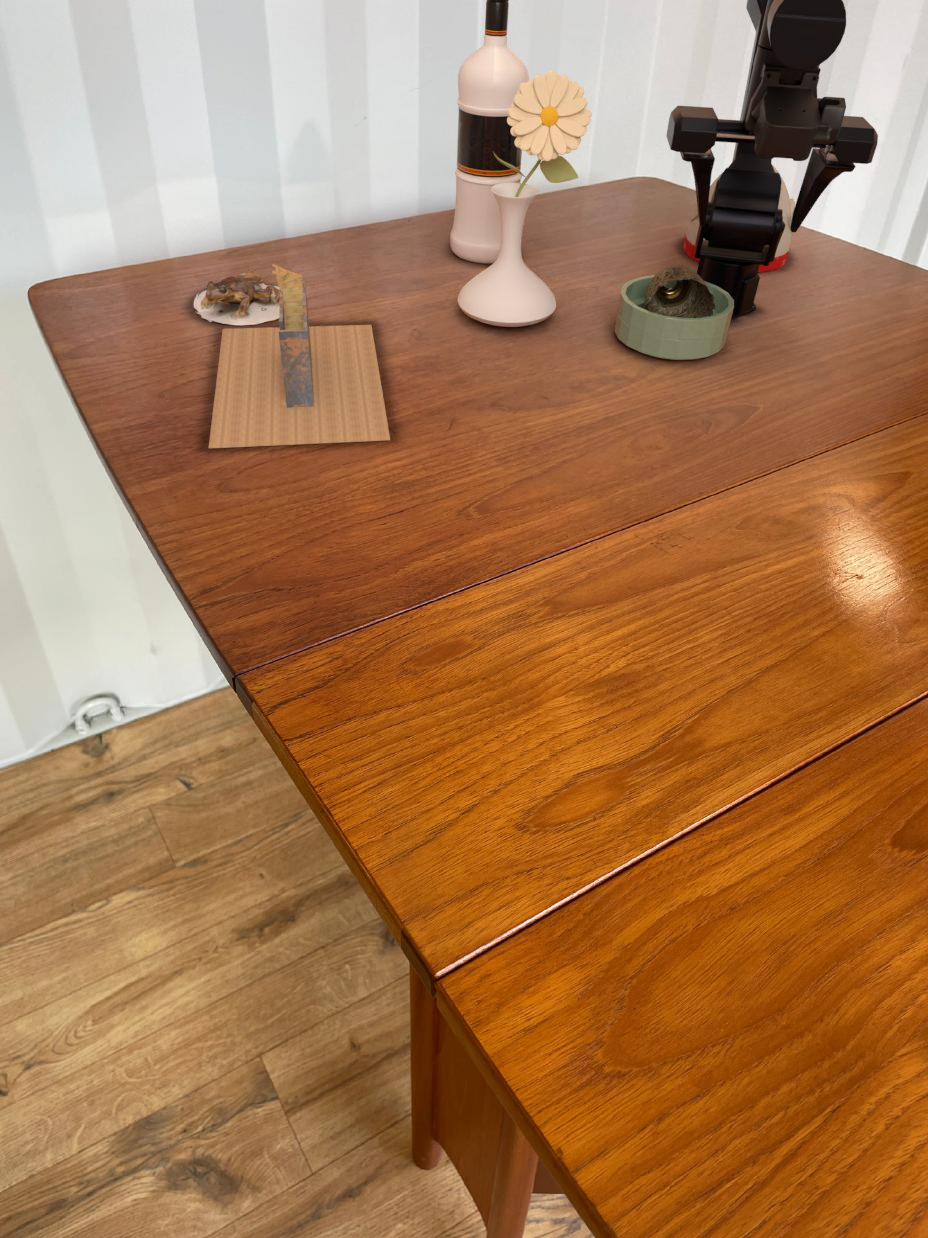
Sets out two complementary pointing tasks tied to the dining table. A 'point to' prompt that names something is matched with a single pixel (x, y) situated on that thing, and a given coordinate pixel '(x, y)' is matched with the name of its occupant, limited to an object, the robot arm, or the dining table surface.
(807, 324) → the dining table surface
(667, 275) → the cup
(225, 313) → the frog figurine
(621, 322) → the bowl
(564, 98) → the flower in vase
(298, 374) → the ruin model on sheet
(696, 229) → the kitchen timer
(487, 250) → the vodka
